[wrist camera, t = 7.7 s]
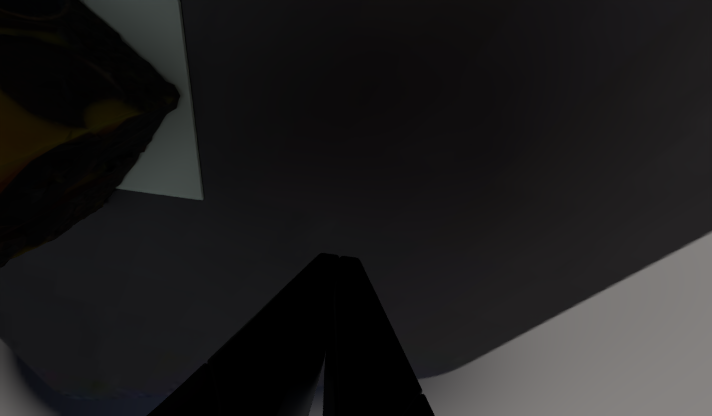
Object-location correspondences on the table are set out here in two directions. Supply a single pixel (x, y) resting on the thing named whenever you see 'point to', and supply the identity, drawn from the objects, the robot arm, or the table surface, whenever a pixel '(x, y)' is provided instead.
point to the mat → (169, 58)
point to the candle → (67, 117)
